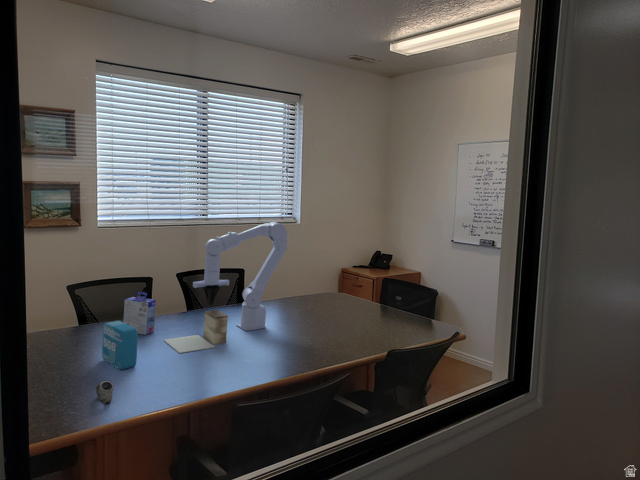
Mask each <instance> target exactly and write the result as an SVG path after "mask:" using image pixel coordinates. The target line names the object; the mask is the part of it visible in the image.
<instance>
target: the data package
mask: <svg viewBox="0 0 640 480" xmlns="http://www.w3.org/2000/svg"><path fill="white" fill-rule="evenodd" d="M123 322H124V321H123ZM123 322H122V321H121V320H115V321H110V322H106V323H104V324H103V326H102V345H101V347H102V351H101V357H102V360H103V361H104V360H105V361H107V362H108V364H109V363H110V364H109V365H111V364H112V365H114V366H116V367H118V368H119V369H118V368H117V369H118V370H120V369H121V370H120V371H122V369H123V370H127V369H130V368H134V367H136V365H137V360H138V359H137V357H138V356H137V354H138V339H139V337H138V336H139V334H138V332H137V330H136V328H134V327H131V326H129V325H127V324H125V323H123ZM105 361H104V362H105ZM107 362H106V363H107ZM112 365H111V366H112ZM114 366H113V367H114ZM116 367H115V368H116ZM126 368H127V369H126Z"/></svg>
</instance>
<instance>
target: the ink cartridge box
mask: <svg viewBox="0 0 640 480" xmlns="http://www.w3.org/2000/svg"><path fill="white" fill-rule="evenodd" d="M142 295H144V296H142ZM147 296H148V293H147V292H145V291H144V292H143V291H138V292H137V295H136V297H135V296H131V297H128V298H125V299H124V307H123V308H124V309H123V323H125V324H127V325H129V326H131V327H134V328H136V330H137V332H138V335H144V336H145V335H146V336H147V335H150V334H152V333H154V332H155V319H156V303H157V302H156V301H157V300H156V299H154V298H153V299H151V298H147Z"/></svg>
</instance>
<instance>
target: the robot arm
mask: <svg viewBox="0 0 640 480" xmlns="http://www.w3.org/2000/svg"><path fill="white" fill-rule="evenodd" d="M260 236H263V237H268V238H270V240H271V243H272V248H271V250H270V252H269V253H268V255H267V257H266V259H265V261H264V262H263V264H262V266H261V268H260V270H259V271H258V272H257V274H256V276H255V278H254V280H252V281H251V283H250V284H249V285H248V286H247V287H245V288H244V289H243V291H242V293H241V296H242V298H243V300H244V301H243V302H242V303H241V315H240V323H236V324H235V325H236V326H237V327H238V328H240V329H242V330H244V331H246V332H248V331H255V330H261V329H266V328H267V326H266V317H267V315H266V314H267V310H266V306H264V305H263V304H261V303H262V296H263V295H264V292H265V287H266V285H267V284H268V282H269V280H270V279H271V277H272V275H273V274H274V273H275V270H276V268H277V267H278V265H279V263H280V261H281V260H282V258H283V256H284V255H285V253H286V251H287V249H288V232H287V230H286V227H285V225H284V224H283V223H279V222H277V221H270V222H266V223H262V224H260V225H257V226H255V227H252V228H249V229H247V230H244V231H242V232H239V233H238V232H235V231H234V232H233V231H228V232H227V233H226V234H224V235H221V236H216V237H215V238H216V239H215V238H210V239H209V240H208V241H207V242H206V243H205V245H204V248H205V250H206V253H205V258H204V275H203V276H204V277H203V280H200V281H199V280H198V281H193V282H192V287H193V288H194V289H197V288H202V290H203V292H204V294H205V296H206V302H207V304H208V305H209V306H213V305H214V302H215V299H216V296H217V294H218V293H219V292H220V290H221V288H220V287H223V286H229V285H230V280H229V279H220V275H221V274H220V271H221V253H222V252H226V251H228V250H230V249H234V248H236V247H239V246H240V245H241V243H242V242H243V241H247V240H250V239H254V238H256V237H260Z"/></svg>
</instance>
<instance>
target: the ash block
mask: <svg viewBox="0 0 640 480" xmlns="http://www.w3.org/2000/svg"><path fill="white" fill-rule="evenodd" d="M228 317H229V316H228V315H227V314H225V313H224V312H222V311H220V310H218V309H216V310H215V309H214V310H213V309H212V310H206V311H204V319H203V320H204V321H203V323H204V324H203V337H202V338H203V339H205V340H206V341H208V342H209V343H211V344H212V345H214V346H215V345H220V344H226V343H227V332H228V319H229V318H228Z"/></svg>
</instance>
